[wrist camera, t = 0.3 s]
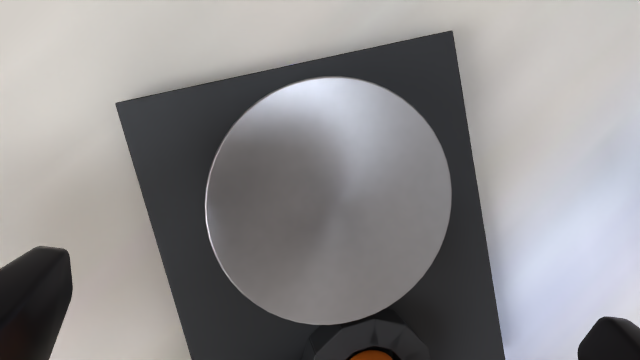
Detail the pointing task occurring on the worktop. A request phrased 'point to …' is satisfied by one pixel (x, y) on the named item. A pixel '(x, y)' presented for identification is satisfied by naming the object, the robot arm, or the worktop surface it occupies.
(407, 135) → the scale pan
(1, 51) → the worktop surface
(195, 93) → the scale
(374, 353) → the button
